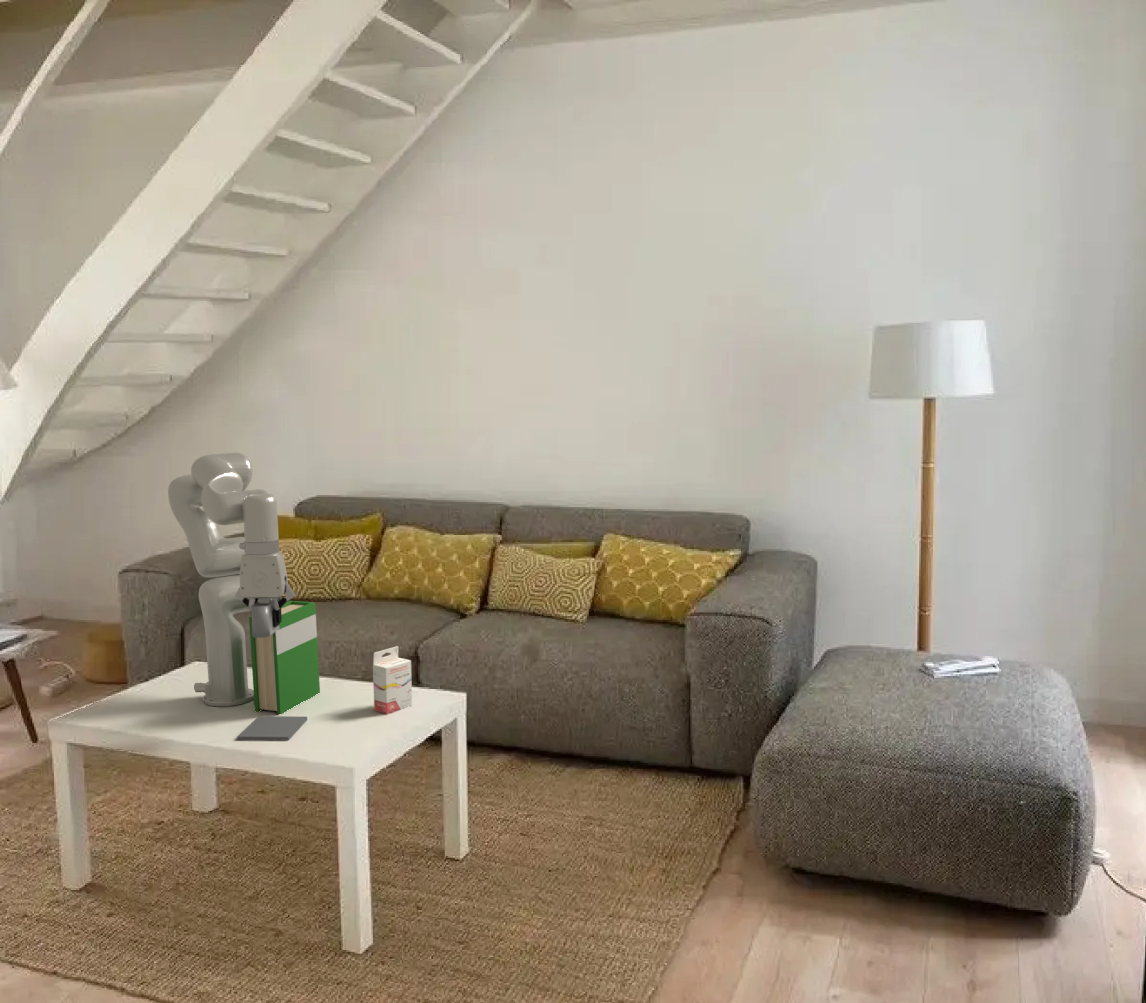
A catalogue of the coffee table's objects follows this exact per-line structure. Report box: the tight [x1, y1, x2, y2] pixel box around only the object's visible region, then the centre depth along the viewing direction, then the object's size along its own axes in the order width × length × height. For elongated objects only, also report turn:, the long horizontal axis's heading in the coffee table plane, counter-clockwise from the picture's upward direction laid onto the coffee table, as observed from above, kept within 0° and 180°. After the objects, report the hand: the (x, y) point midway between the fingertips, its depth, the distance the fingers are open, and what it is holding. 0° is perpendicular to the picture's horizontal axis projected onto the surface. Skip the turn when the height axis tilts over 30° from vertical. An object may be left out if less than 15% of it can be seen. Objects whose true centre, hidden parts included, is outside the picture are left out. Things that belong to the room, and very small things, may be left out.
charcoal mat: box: [236, 715, 308, 741], centre depth 268 cm, size 12×14×1 cm
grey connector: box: [250, 598, 279, 638], centre depth 264 cm, size 4×10×9 cm, turn 176°
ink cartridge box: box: [372, 645, 413, 715], centre depth 281 cm, size 9×5×15 cm, turn 141°
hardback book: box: [248, 600, 321, 715], centre depth 287 cm, size 18×7×24 cm, turn 160°
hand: (266, 624), depth 265 cm, fingers closed on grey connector, 4 cm apart
